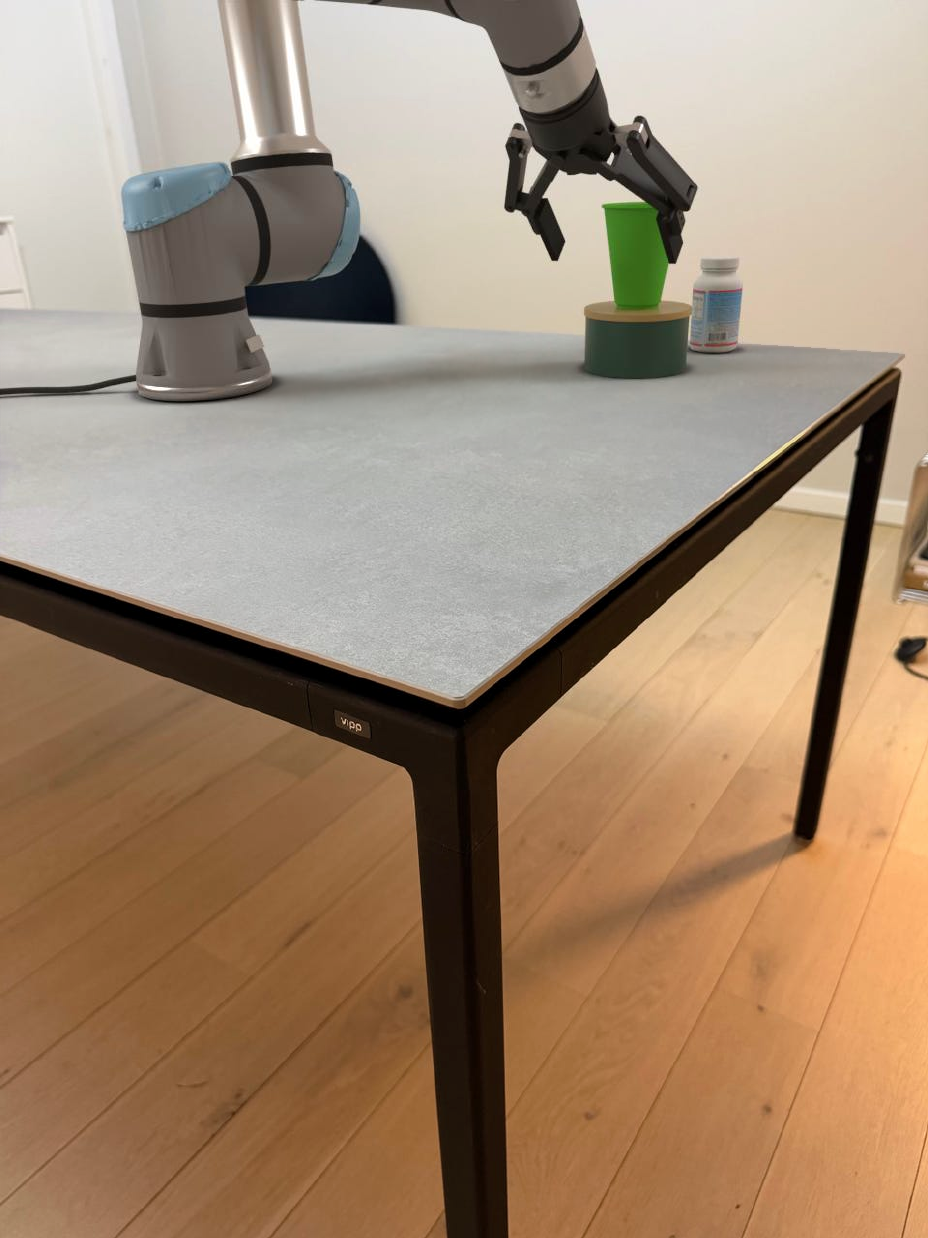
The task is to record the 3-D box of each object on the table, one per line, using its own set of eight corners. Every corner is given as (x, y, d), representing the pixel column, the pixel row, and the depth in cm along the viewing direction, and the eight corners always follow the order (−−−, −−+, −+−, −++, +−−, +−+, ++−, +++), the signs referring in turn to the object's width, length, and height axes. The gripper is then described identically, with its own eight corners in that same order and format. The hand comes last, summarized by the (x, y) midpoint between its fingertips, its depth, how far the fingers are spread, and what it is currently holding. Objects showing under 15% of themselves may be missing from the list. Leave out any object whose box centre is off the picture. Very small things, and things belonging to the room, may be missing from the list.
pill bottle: (743, 347, 120) (752, 254, 115) (727, 355, 115) (736, 259, 110) (699, 343, 123) (706, 253, 118) (681, 351, 119) (688, 258, 114)
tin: (605, 382, 103) (608, 317, 100) (567, 362, 114) (568, 303, 111) (706, 373, 106) (711, 310, 103) (659, 354, 117) (663, 297, 114)
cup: (594, 312, 104) (597, 206, 99) (602, 301, 112) (605, 202, 107) (675, 312, 102) (682, 204, 97) (678, 301, 110) (685, 200, 105)
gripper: (423, 125, 86) (502, 277, 104) (680, 110, 75) (719, 284, 93) (451, 63, 88) (524, 223, 106) (706, 39, 76) (740, 224, 94)
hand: (615, 252), depth 99 cm, fingers open, 13 cm apart
